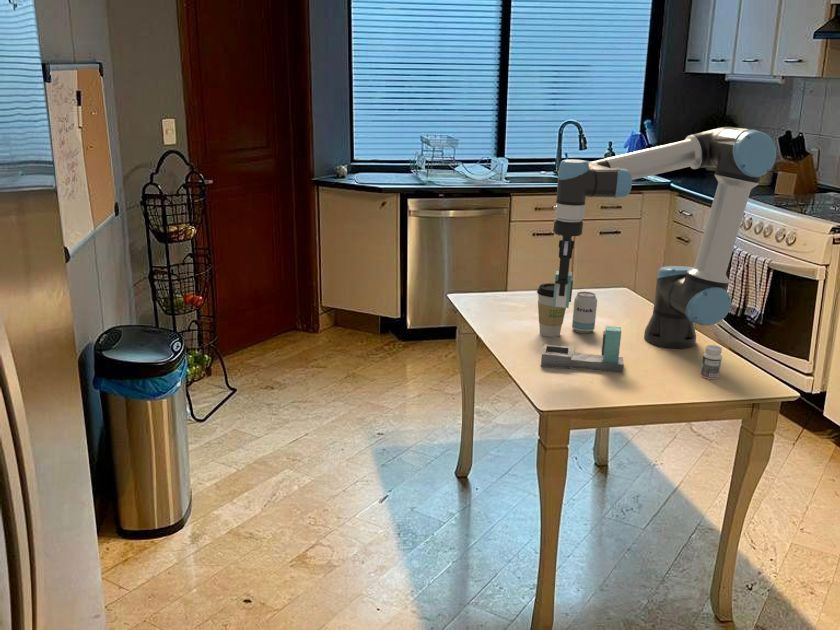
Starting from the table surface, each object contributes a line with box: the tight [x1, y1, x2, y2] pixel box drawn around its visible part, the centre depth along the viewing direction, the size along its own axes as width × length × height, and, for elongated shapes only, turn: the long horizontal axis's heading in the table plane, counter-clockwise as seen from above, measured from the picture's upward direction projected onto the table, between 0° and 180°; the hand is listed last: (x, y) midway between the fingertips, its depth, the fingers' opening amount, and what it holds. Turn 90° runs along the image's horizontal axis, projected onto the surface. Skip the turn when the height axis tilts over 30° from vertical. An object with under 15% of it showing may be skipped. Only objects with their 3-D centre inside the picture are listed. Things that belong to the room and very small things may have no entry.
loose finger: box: [553, 270, 574, 309], centre depth 216 cm, size 5×4×9 cm
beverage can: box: [571, 291, 598, 334], centre depth 248 cm, size 7×7×12 cm
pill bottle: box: [700, 344, 723, 380], centre depth 214 cm, size 5×5×8 cm
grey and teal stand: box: [540, 325, 625, 374], centre depth 219 cm, size 22×8×11 cm, turn 78°
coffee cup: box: [536, 282, 567, 338], centre depth 243 cm, size 10×10×15 cm
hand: (560, 304), depth 217 cm, fingers closed on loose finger, 4 cm apart
